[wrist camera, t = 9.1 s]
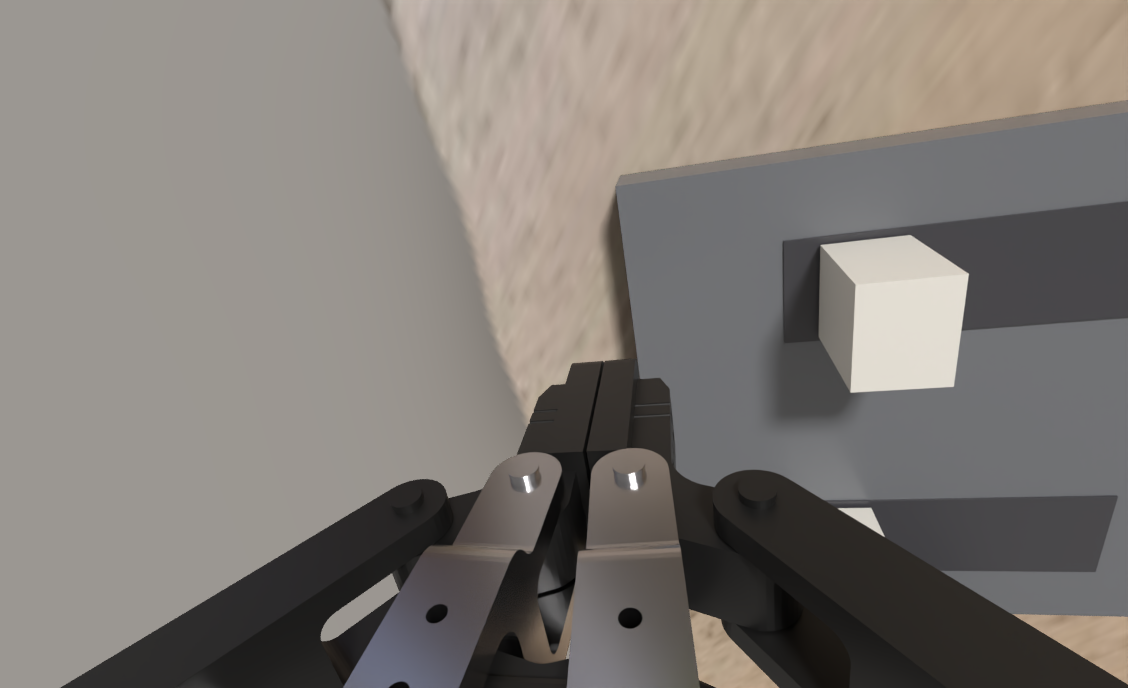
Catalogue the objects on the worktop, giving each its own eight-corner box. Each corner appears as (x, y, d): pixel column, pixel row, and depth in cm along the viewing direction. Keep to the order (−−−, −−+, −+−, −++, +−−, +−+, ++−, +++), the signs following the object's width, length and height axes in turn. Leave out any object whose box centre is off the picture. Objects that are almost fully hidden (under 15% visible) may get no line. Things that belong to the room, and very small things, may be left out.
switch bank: (1297, 75, 15) (1387, 75, 13) (1130, 573, 22) (1173, 619, 20) (620, 175, 19) (614, 186, 17) (669, 569, 26) (669, 607, 24)
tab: (910, 235, 16) (969, 273, 13) (902, 330, 17) (953, 386, 14) (820, 244, 16) (855, 284, 13) (818, 336, 18) (850, 392, 15)
